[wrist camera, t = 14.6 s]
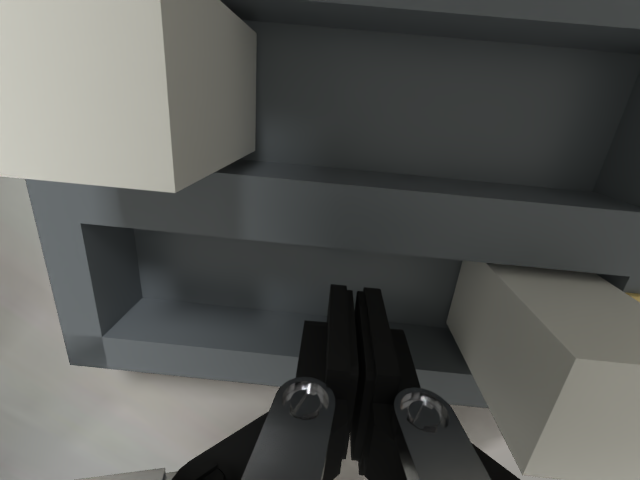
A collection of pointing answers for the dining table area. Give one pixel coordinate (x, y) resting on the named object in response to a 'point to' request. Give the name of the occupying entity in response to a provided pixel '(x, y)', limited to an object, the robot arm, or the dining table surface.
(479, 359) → the tab
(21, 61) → the tab middle
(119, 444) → the dining table surface
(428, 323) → the switch bank
